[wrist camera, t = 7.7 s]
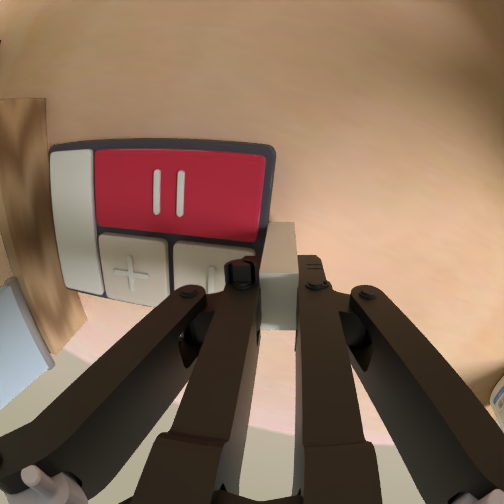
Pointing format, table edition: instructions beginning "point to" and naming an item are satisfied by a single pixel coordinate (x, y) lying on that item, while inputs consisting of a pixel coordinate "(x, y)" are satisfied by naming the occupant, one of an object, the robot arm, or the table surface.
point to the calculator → (157, 213)
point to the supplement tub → (498, 402)
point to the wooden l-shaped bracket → (33, 222)
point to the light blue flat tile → (19, 344)
